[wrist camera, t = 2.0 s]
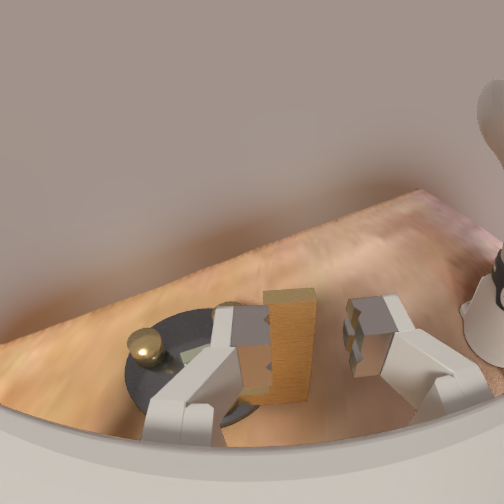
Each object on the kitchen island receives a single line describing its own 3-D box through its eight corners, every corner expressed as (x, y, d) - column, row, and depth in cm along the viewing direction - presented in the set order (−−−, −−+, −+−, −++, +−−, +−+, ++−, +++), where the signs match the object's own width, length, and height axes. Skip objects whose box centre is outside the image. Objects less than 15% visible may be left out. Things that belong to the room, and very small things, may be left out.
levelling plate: (240, 299, 54) (238, 278, 52) (308, 391, 36) (310, 371, 34) (119, 337, 47) (110, 317, 45) (144, 452, 29) (130, 437, 27)
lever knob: (304, 376, 37) (310, 274, 29) (309, 415, 32) (321, 317, 24) (195, 379, 38) (164, 281, 29) (189, 418, 32) (148, 324, 24)
